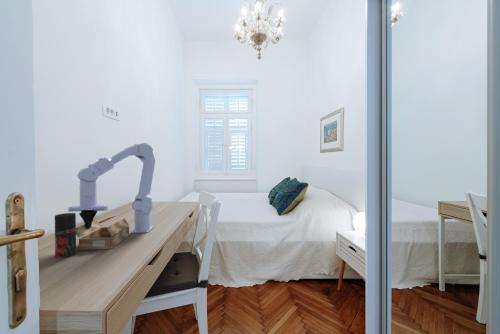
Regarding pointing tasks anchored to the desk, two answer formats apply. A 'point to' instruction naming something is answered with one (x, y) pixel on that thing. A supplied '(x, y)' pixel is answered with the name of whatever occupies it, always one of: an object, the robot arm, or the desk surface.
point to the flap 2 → (117, 227)
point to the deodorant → (65, 235)
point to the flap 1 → (83, 230)
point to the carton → (102, 239)
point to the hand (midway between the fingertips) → (88, 228)
